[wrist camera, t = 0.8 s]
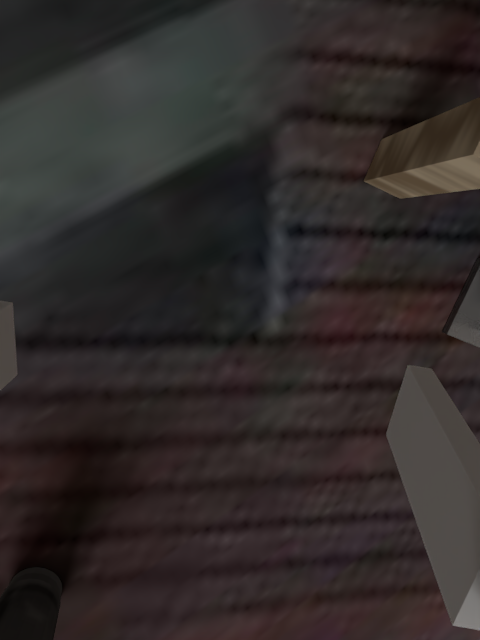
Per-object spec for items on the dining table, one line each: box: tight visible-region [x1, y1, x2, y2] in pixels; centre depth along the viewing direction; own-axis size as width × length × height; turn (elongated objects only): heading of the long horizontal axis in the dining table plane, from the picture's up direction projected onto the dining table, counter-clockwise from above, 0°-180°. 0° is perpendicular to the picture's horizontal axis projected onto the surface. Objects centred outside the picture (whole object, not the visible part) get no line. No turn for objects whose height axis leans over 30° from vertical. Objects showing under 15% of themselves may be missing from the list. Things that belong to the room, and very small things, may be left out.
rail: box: [364, 97, 480, 199], centre depth 30 cm, size 4×4×14 cm
